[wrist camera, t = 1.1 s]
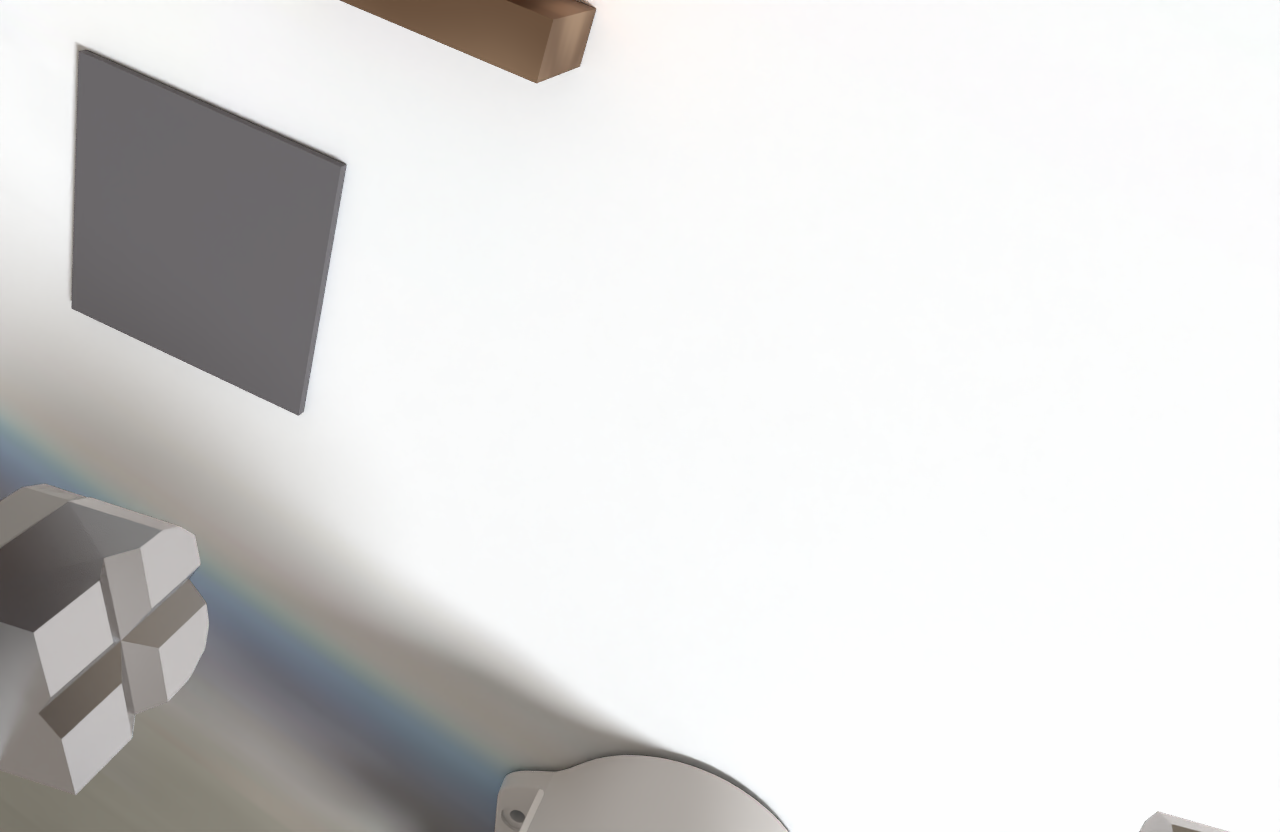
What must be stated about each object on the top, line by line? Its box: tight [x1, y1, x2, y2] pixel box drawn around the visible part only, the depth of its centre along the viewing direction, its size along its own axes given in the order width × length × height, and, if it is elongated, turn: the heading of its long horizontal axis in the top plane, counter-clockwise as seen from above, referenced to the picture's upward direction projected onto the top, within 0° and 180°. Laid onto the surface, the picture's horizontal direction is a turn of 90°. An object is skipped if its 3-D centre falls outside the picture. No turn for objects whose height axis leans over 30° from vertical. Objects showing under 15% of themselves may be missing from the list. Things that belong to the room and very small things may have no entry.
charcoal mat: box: [72, 50, 346, 415], centre depth 43 cm, size 12×12×1 cm
